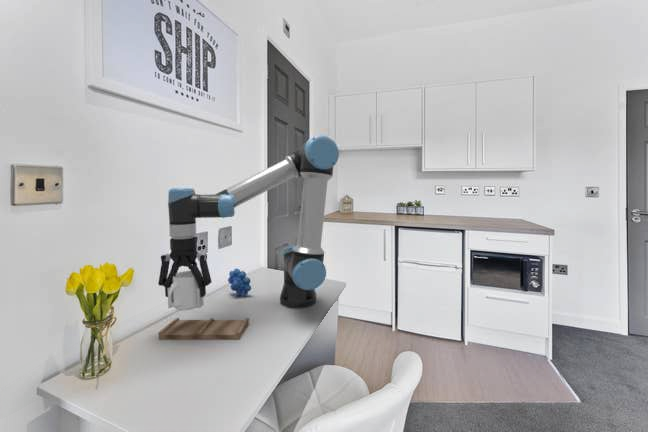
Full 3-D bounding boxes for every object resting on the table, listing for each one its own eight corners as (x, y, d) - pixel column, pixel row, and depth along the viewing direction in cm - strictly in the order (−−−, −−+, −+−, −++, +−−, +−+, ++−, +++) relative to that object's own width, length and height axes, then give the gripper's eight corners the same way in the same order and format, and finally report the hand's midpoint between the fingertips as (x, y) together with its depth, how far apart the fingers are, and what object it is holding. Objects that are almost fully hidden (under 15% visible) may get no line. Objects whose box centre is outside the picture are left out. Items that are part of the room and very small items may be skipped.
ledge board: (248, 324, 95) (248, 317, 95) (239, 339, 85) (239, 332, 85) (176, 324, 95) (176, 317, 95) (158, 339, 85) (158, 332, 85)
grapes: (222, 297, 120) (221, 270, 119) (232, 292, 126) (231, 266, 125) (245, 300, 116) (244, 272, 115) (254, 295, 122) (253, 268, 121)
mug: (158, 313, 85) (156, 279, 84) (188, 299, 96) (187, 269, 96) (180, 317, 83) (179, 282, 82) (208, 302, 94) (207, 271, 93)
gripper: (221, 235, 91) (223, 301, 93) (157, 235, 92) (160, 301, 93) (212, 239, 84) (214, 311, 86) (142, 238, 84) (145, 311, 86)
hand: (186, 306), depth 89 cm, fingers closed on mug, 9 cm apart
